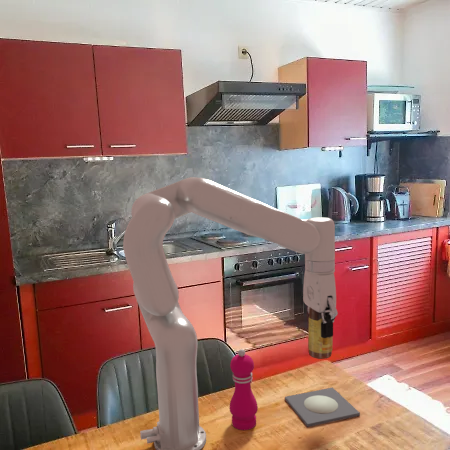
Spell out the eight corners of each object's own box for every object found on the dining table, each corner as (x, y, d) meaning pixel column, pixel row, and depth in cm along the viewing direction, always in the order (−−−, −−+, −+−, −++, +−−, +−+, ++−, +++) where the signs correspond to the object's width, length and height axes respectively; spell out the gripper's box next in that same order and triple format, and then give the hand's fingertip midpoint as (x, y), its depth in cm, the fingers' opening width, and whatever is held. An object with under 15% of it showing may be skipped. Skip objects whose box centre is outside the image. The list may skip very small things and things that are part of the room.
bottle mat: (307, 427, 113) (307, 423, 113) (284, 399, 126) (284, 396, 126) (359, 415, 117) (359, 412, 117) (332, 390, 130) (332, 387, 130)
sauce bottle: (326, 362, 115) (326, 287, 112) (304, 356, 119) (303, 284, 116) (336, 353, 120) (336, 281, 117) (315, 347, 124) (315, 278, 121)
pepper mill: (256, 432, 111) (253, 356, 108) (227, 430, 113) (224, 355, 110) (259, 416, 118) (257, 344, 115) (232, 414, 120) (230, 343, 117)
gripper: (292, 260, 123) (293, 322, 126) (323, 275, 107) (323, 346, 109) (317, 257, 125) (317, 319, 128) (351, 271, 109) (350, 342, 111)
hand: (320, 331), depth 118 cm, fingers closed on sauce bottle, 6 cm apart
